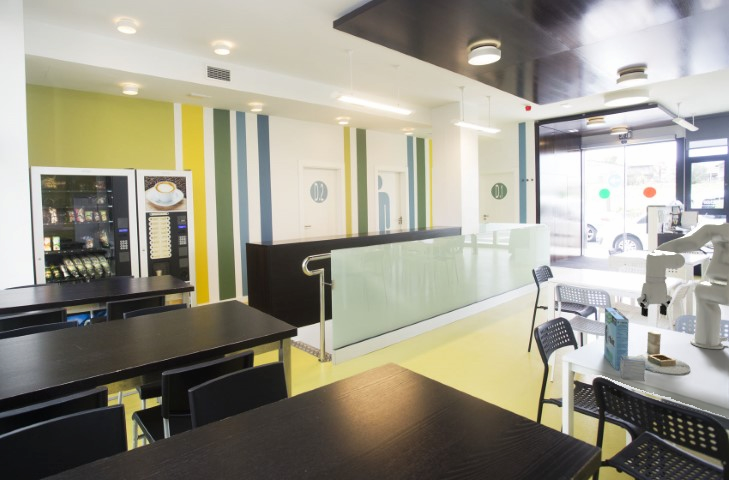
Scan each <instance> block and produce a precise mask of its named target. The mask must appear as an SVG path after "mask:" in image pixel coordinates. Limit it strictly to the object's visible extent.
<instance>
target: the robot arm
mask: <svg viewBox="0 0 729 480" xmlns="http://www.w3.org/2000/svg"><path fill="white" fill-rule="evenodd" d="M709 242H711V243H712V246H713V254H712V256H711V259H710V262H709V264H708V265H707V269H706V272H705V275H706V277H707V278H708V279H709V280H711V281H701V282H698V283H697V284H696V285H695V287H694V298H695V305H696V306H695V307H696V308H695V309H696V310H695V323H694V324H695V325H694V327H695V329H694V338H691V339H690V344H691V345H694V346H695V347H699V348H702V349H707V350H722V349H724V344H723V343H722V342H727V341H728V337H727V336H723V337H722V336H721V324H722V323H721V321H722V320H721V319H722V309H721V307H720V305H721V306H727V307H729V222H725V221H703V222H701V223H699V224H697V225H696V226H695V227H694V228H693V229H691V230H690V231H689V232H688V233H686V234H685V235H683V236H681V237H678V238H675V239H672V240H670V241H666V242H663V243H662V244H660V245H658V247H656V248H655V249H654V250H652V252H649V253H647V255H646V263H645V264H646V265H645V266H646V267H645V281H644V282H643V284H642V286H641V287H642V288H641V294H640V296H639V297H637V298H636V302H637V304H638V305H639V307H640V308H641V310H640V311H641V312H640V314H641V316H642V317H645V318H647V317H648V315H649V308H648V307H649V306H650V305H660V306H659V314H660V315H663V316H667V310H668V307H669V305H670V304H671V301H672V300H673V297H672V296H670V295H669V294H668V287H667V286H668V285H667V282H666V280H667V276H666V274H667V273H666V269H668V270H669V269H670V270H671V269H672V270H676V269H680V268H682V267H683V266H684V265H685V263H686V260H685V257H684V256H683V255H682V254H687V253H692V252H697V251H699V250H700V249H701V248H702V247H704V246H705V245H706V244H708V243H709ZM712 281H715V282H712ZM716 282H720V283H716ZM722 283H726V284H722Z"/></svg>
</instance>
